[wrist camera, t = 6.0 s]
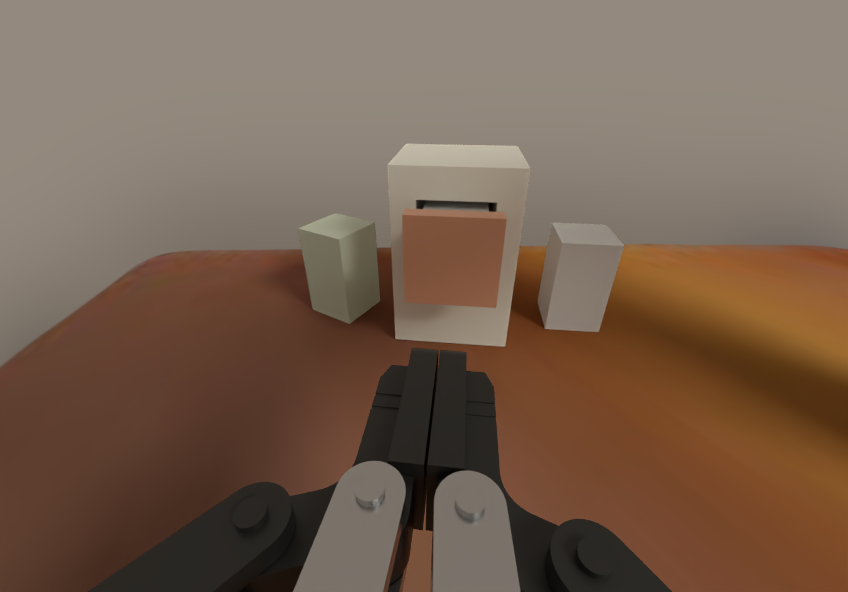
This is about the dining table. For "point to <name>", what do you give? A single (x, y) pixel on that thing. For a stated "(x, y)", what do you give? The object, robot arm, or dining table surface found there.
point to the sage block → (341, 266)
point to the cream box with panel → (457, 181)
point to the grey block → (578, 276)
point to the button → (453, 253)
